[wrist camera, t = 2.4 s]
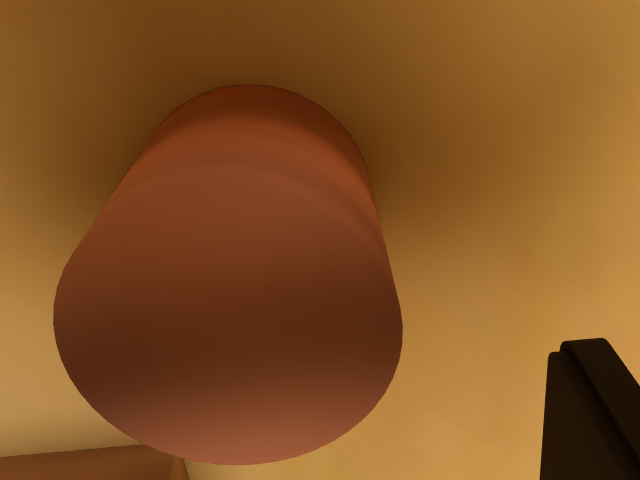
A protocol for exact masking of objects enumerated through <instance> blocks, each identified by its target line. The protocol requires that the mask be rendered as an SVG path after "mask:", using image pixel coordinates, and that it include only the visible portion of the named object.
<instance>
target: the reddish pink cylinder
mask: <svg viewBox="0 0 640 480" xmlns="http://www.w3.org/2000/svg"><path fill="white" fill-rule="evenodd" d="M53 325H54V332H55V339H56V344H57V347H58V351H59V354H60V357H61V360H62V362H63V365H64V367H65V369H66V371H67V373H68V375H69V377H70V379H71V380H72V382H73V383H74V385H75V386H76V388H77V389H78V391H79V392H80V394H81V395H82V396H83V397H84V398H85V399H86V401H87V402H88V403H89V404H90V405H91V406H92V407H93V408H94V409H95V410H96V411H97V412H98V413H99V414H100V415H101V416H102V417H103V418H105V419H106V420H107V421H108V422H109V423H111V424H112V425H114V426H115V427H116V428H118V429H119V430H120V431H122V432H123V433H125V434H127V435H128V436H130V437H132V438H134V439H135V440H137V441H139V442H141V443H143V444H145V445H147V446H150V447H152V448H154V449H156V450H159V451H162V452H165V453H168V454H171V455H174V456H177V457H180V458H185V459H189V460H193V461H198V462H205V463H212V464H223V465H250V464H262V463H269V462H276V461H281V460H285V459H289V458H293V457H297V456H299V455H302V454H305V453H308V452H311V451H314V450H316V449H318V448H320V447H322V446H324V445H326V444H328V443H330V442H332V441H334V440H336V439H337V438H339V437H340V436H342V435H344V434H345V433H347V432H348V431H349V430H351V429H352V428H353V427H354V426H356V425H357V424H358V423H359V422H361V421H362V420H363V419H364V418H365V417H366V416H367V415H368V414H369V412H370V411H371V410H372V409H373V408H374V407H375V406H376V404H377V403H378V402H379V400H380V399H381V398H382V396H383V395H384V394H385V392H386V390H387V388H388V386H389V384H390V382H391V381H392V379H393V376H394V374H395V371H396V368H397V365H398V362H399V358H400V353H401V347H402V330H403V325H402V317H401V310H400V305H399V300H398V296H397V292H396V288H395V284H394V280H393V276H392V272H391V267H390V263H389V259H388V255H387V251H386V247H385V243H384V238H383V234H382V230H381V226H380V222H379V218H378V214H377V210H376V205H375V201H374V197H373V193H372V189H371V185H370V181H369V177H368V173H367V169H366V166H365V163H364V159H363V157H362V155H361V153H360V151H359V149H358V146H357V145H356V143H355V142H354V140H353V139H352V137H351V135H350V134H349V133H348V131H347V130H346V129H345V128H344V127H343V126H342V124H341V123H340V122H339V121H338V120H337V119H336V118H335V117H333V116H332V115H331V114H330V113H329V112H328V111H326V110H325V109H324V108H322V107H321V106H319V105H318V104H316V103H315V102H313V101H311V100H309V99H307V98H305V97H303V96H301V95H299V94H296V93H293V92H290V91H288V90H285V89H281V88H276V87H271V86H264V85H252V84H250V85H234V86H228V87H223V88H218V89H215V90H212V91H209V92H206V93H203V94H201V95H199V96H197V97H195V98H193V99H191V100H189V101H187V102H186V103H184V104H183V105H181V106H180V107H178V108H177V109H176V110H174V111H173V112H172V113H171V114H170V115H169V116H168V117H167V118H166V119H165V120H164V121H163V122H162V123H161V125H160V126H159V127H158V128H157V129H156V131H155V132H154V134H153V135H152V137H151V138H150V139H149V141H148V142H147V144H146V145H145V147H144V148H143V150H142V151H141V153H140V154H139V156H138V157H137V159H136V160H135V162H134V163H133V165H132V166H131V168H130V169H129V171H128V172H127V174H126V175H125V177H124V178H123V180H122V181H121V182H120V184H119V185H118V187H117V188H116V190H115V191H114V193H113V194H112V196H111V197H110V199H109V200H108V202H107V203H106V205H105V206H104V208H103V209H102V211H101V212H100V214H99V215H98V217H97V218H96V220H95V221H94V223H93V224H92V225H91V227H90V228H89V230H88V231H87V233H86V234H85V236H84V237H83V239H82V240H81V242H80V243H79V245H78V246H77V248H76V249H75V251H74V252H73V254H72V256H71V258H70V259H69V261H68V263H67V264H66V266H65V268H64V270H63V273H62V276H61V278H60V281H59V284H58V286H57V291H56V296H55V302H54V318H53Z"/></svg>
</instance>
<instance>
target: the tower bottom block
mask: <svg viewBox="0 0 640 480" xmlns="http://www.w3.org/2000/svg"><path fill="white" fill-rule="evenodd" d="M0 480H189V477H188V474H187V471H186V467H185V464H184V460H183V458H180V457H177V456H174V455H171V454H168V453H165V452H162V451H159V450H156V449H154V448H152V447H150V446H147V445H145V444H144V445H133V446H122V447H111V448H99V449H88V450H77V451H66V452H54V453H43V454H32V455H21V456H9V457H0Z"/></svg>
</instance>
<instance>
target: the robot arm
mask: <svg viewBox="0 0 640 480" xmlns="http://www.w3.org/2000/svg"><path fill="white" fill-rule="evenodd" d="M540 480H640V386H639V384H638V383H637V382H636V380H635V379H634V377H633V376H632V374H631V373H630V372H629V370H628V369H627V367H626V366H625V365H624V363H623V362H622V360H621V359H620V358H619V356H618V355H617V353H616V352H615V351H614V349H613V348H612V346H611V345H610V344H609V342H608V341H607V340H606V339H604V338H594V339H582V340H571V341H564V342H562V344H561V346H560V351H559V352H551V353H550V354H549V357H548V367H547V382H546V396H545V410H544V425H543V439H542V454H541V468H540Z"/></svg>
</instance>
